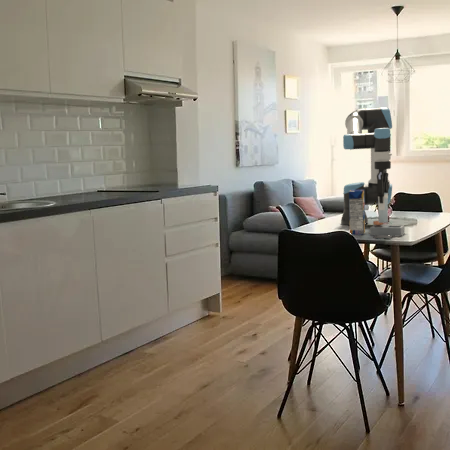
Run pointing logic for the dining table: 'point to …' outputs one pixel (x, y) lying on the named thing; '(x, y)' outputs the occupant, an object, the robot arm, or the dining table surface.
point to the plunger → (377, 223)
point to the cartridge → (383, 211)
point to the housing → (387, 230)
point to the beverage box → (357, 212)
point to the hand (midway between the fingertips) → (383, 209)
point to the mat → (382, 236)
